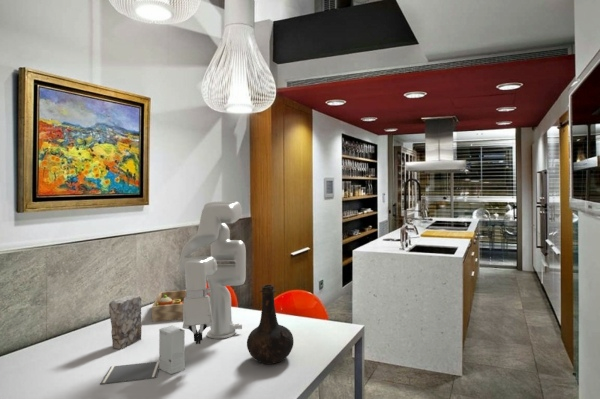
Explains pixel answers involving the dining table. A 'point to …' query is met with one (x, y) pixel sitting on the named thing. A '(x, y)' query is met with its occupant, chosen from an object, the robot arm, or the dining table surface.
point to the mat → (131, 372)
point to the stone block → (125, 321)
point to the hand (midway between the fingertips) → (198, 342)
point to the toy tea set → (168, 301)
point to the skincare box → (171, 349)
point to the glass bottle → (269, 333)
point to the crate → (168, 307)
